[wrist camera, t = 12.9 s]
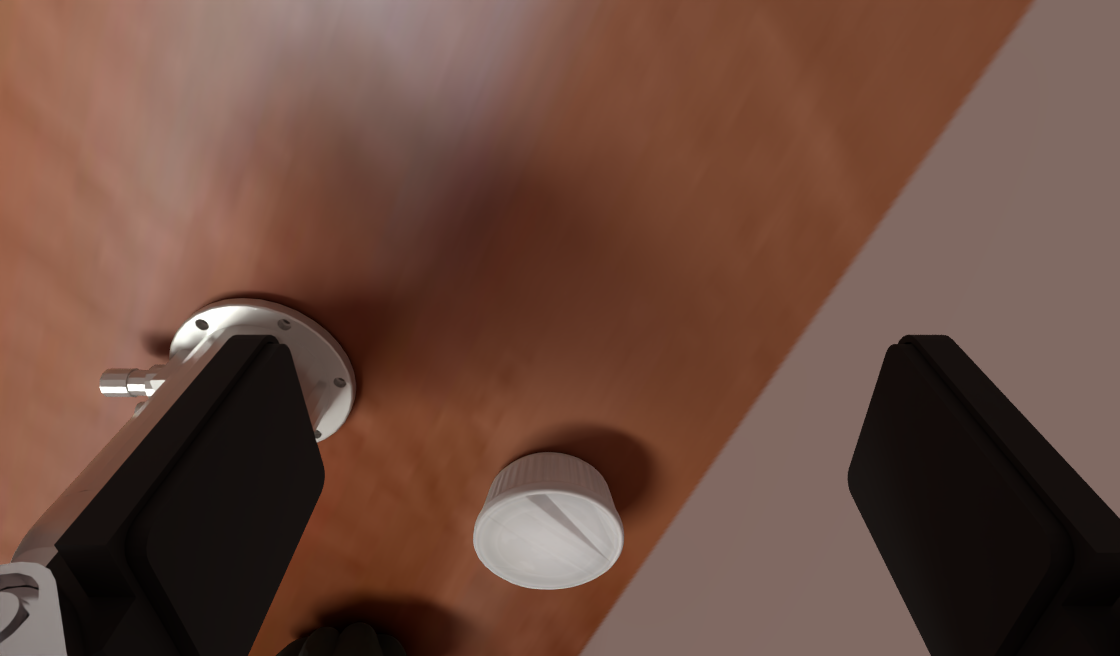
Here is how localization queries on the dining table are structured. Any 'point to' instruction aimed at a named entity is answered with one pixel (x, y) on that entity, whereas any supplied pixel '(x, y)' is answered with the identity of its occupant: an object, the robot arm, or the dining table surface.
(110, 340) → the dining table surface
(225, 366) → the robot arm
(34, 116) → the dining table surface
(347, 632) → the squash
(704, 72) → the dining table surface
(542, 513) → the ramekin
